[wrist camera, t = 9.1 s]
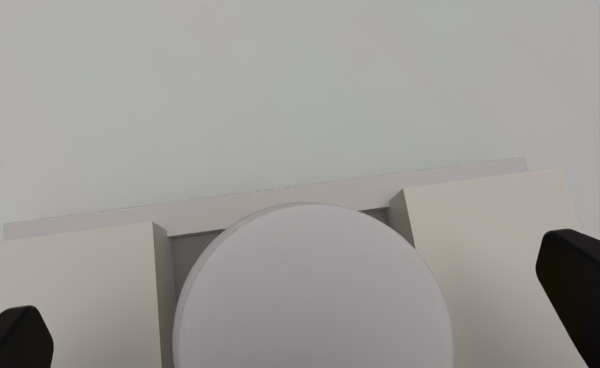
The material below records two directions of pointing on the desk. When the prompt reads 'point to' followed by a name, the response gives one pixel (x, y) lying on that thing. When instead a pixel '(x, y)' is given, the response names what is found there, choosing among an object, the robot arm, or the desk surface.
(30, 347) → the robot arm
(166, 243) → the rail plate
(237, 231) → the supplement bottle
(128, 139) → the desk surface
